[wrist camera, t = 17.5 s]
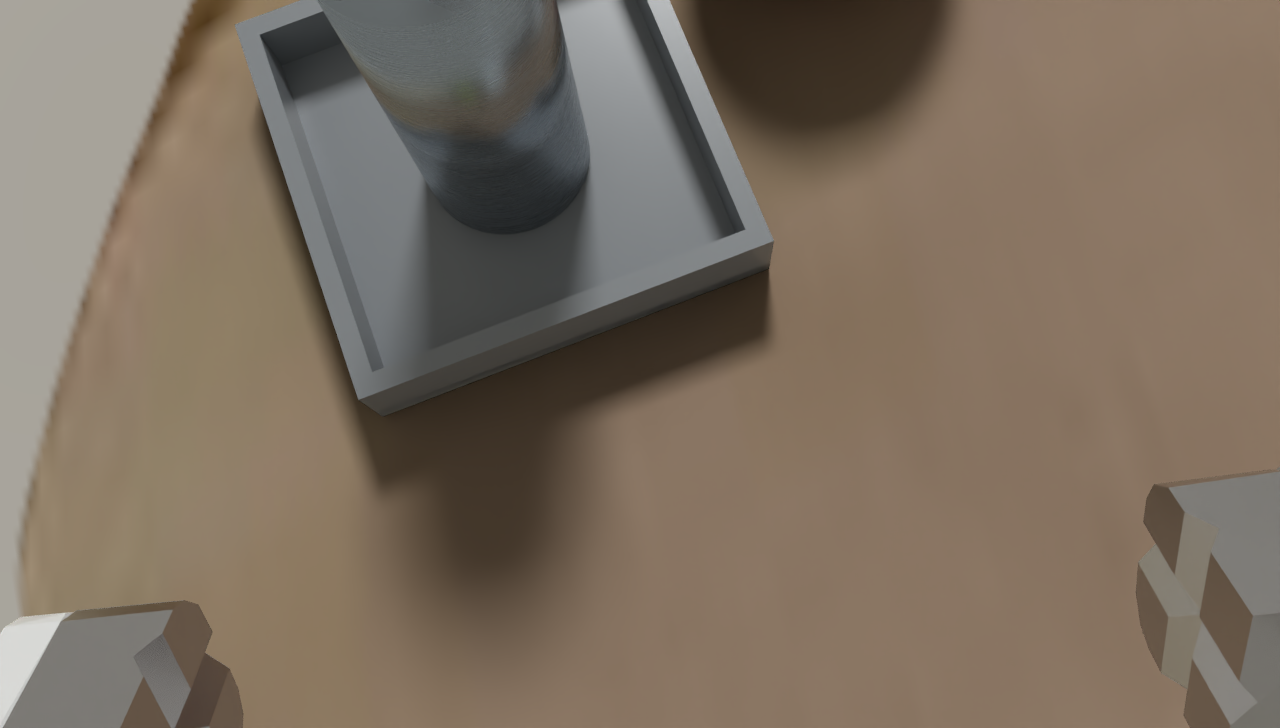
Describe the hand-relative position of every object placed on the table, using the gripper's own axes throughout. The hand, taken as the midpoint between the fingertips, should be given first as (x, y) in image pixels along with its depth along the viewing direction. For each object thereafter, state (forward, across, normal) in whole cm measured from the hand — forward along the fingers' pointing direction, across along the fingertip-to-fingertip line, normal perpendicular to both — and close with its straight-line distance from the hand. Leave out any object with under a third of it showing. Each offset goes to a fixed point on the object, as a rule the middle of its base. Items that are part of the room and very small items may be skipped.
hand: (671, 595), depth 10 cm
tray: (+26, +4, +6) cm, 27 cm away
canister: (+26, +4, +6) cm, 27 cm away
